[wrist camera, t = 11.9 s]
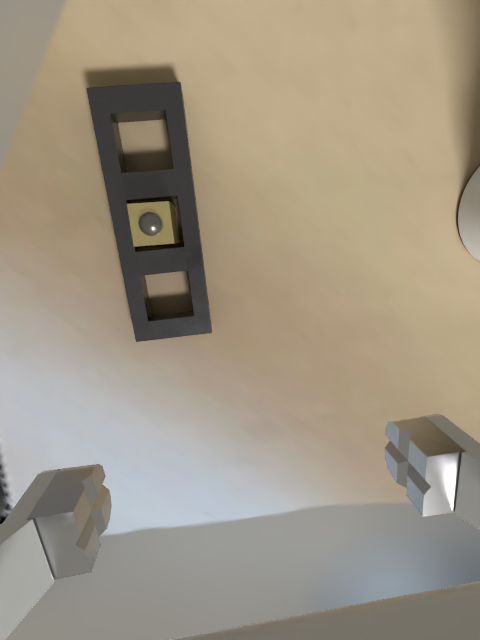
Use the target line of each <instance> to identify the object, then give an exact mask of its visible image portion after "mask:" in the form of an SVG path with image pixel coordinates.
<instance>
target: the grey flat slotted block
mask: <svg viewBox="0 0 480 640" xmlns="http://www.w3.org/2000/svg"><path fill="white" fill-rule="evenodd" d="M87 93H88V98H89V103H90V109H91V114H92V119H93V124H94V129H95V134H96V139H97V144H98V150H99V155H100V160H101V165H102V170H103V175H104V180H105V185H106V190H107V196H108V201H109V206H110V211H111V216H112V221H113V226H114V231H115V237H116V242H117V247H118V252H119V257H120V262H121V267H122V272H123V277H124V283H125V288H126V293H127V298H128V303H129V308H130V313H131V318H132V323H133V329H134V334H135V339H136V342H139V341H147V340H156V339H164V338H173V337H181V336H189V335H198V334H206V333H212V327H211V319H210V311H209V303H208V295H207V287H206V278H205V270H204V262H203V254H202V246H201V238H200V230H199V222H198V214H197V206H196V198H195V190H194V182H193V174H192V166H191V158H190V150H189V142H188V134H187V126H186V118H185V110H184V102H183V94H182V88H181V83H180V82H172V83H156V84H141V85H125V86H110V87H94V88H87ZM161 119H167V124H168V131H169V138H170V145H171V153H172V160H173V167H174V169H166V170H154V171H142V172H130V173H126V167H125V162H124V156H123V150H122V145H121V139H120V133H119V128H118V123H119V122H133V121H147V120H161ZM175 198H178V203H179V210H180V217H181V225H182V232H183V239H184V246H185V247H175V248H165V249H155V250H145V251H140V247H139V246H136V247H134V245H133V239H132V233H131V227H130V221H129V215H128V208H127V204H132V202H142V201H153V200H164V199H175ZM178 271H188V275H189V282H190V289H191V297H192V304H193V312H184V313H176V314H167V315H158V316H152V314H151V309H150V303H149V297H148V292H147V286H146V280H145V275H150V274H159V273H169V272H178Z"/></svg>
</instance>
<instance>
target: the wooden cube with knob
mask: <svg viewBox="0 0 480 640" xmlns="http://www.w3.org/2000/svg"><path fill="white" fill-rule="evenodd" d="M127 208H128V215H129V221H130V227H131V233H132V239H133V245H134V247H136V246H149V245H161V244H174V243H178V242H180V240H179V232H178V224H177V216H176V208H175V206H174V205H173V204H172V203H171V202H169V201H162V202H148V203H133V204H127Z"/></svg>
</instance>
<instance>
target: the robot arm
mask: <svg viewBox="0 0 480 640" xmlns="http://www.w3.org/2000/svg"><path fill="white" fill-rule="evenodd" d="M458 226H459V232H460V236H461V239H462V242H463V244H464V246H465V247H466V249H467V250H468V251H469V253H470V254H471V255H472V256H473V257H475V258H476V259H477V260H479V261H480V167H479V168H478V169H477V170H476V171H475V173H474V174H473V175H472V177H471V178H470V180H469V182H468V184H467V186H466V188H465V190H464V192H463V195H462V198H461V202H460V206H459V213H458ZM385 435H386V436H387V437H388V439H389V440H390V441H389V443H388V444H387V445H386V447H385V460H386V464H387V468H388V470H389V472H390V474H391V476H392V477H393V478H394V480H395V481H396V482H397V483H398V484H400V485H402V486H404V487H406V488H407V494H406V496H407V497H408V498H409V500H410V501H411V502H412V503H413V505H414V506H415V507H416V509H417V510H418V511H419V512H420V514H421V515H422V516H430V515H437V514H444V513H452V512H455V514H456V515H457V516H459V517H460V518H462V519H464V520H465V521H467V522H468V523H470V524H471V525H473V526H475V527H476V528H478V529H479V530H480V443H478V442H477V441H476V440H474V439H473V438H472V437H471V436H469V435H468V434H467V433H465V432H464V431H463V430H461V429H460V428H459V427H457V426H456V425H455V424H453V423H452V422H451V421H450V420H448V419H447V418H446V417H444V416H443V415H440V414H433V415H427V416H422V417H420V418H413V419H406V420H400V421H393V422H388V423H387V425H386V429H385ZM104 479H105V473H104V470H103V466H101V465H99V464H96V465H88V466H80V467H71V468H63V469H57V470H49V471H43V472H41V473H40V474H38V475H37V476H36V478H35V479H34V481H33V482H32V483H31V485H30V486H29V488H28V489H27V490H26V492H25V493H24V494H23V496H22V497H21V499H20V500H19V501H18V503H17V504H16V506H15V507H14V508H13V510H12V511H11V513H10V514H9V515H8V517H7V518H6V519H5V521H4V522H3V524H0V640H5V639H6V638H7V637H8V635H9V634H10V633H11V632H12V631H13V629H14V628H15V627H16V626H17V625H18V624H19V622H20V621H21V620H22V619H23V618H24V617H25V616H26V614H27V613H28V612H29V611H30V610H31V609H32V607H33V606H34V605H35V604H36V603H37V602H38V600H39V599H40V598H41V597H42V596H43V594H44V593H45V592H46V591H47V590H48V589H49V587H50V586H51V585H52V584H53V583H54V580H55V579H60V578H65V577H70V576H75V575H80V574H85V573H90V572H92V569H93V566H94V563H95V560H96V558H97V555H98V552H99V549H100V545H101V544H100V541H99V536H100V535H101V534H102V533H103V532H104V531H105V530H106V529H107V526H108V523H109V520H110V514H111V496H110V492H109V489H107V488H106V487H105V486H104V485H102V483H103V481H104ZM167 640H480V581H479V582H474V583H468V584H463V585H458V586H452V587H447V588H441V589H437V590H431V591H426V592H421V593H415V594H409V595H404V596H399V597H394V598H388V599H383V600H377V601H372V602H367V603H361V604H356V605H350V606H345V607H340V608H334V609H330V610H324V611H318V612H313V613H308V614H302V615H297V616H291V617H286V618H281V619H275V620H270V621H264V622H259V623H253V624H248V625H243V626H237V627H232V628H226V629H221V630H216V631H211V632H205V633H200V634H195V635H189V636H183V637H178V638H172V639H167Z"/></svg>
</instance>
